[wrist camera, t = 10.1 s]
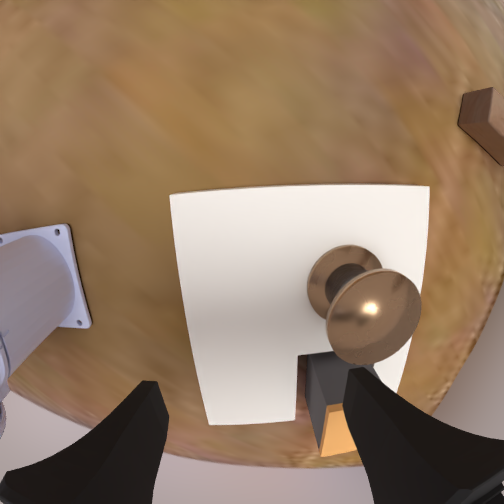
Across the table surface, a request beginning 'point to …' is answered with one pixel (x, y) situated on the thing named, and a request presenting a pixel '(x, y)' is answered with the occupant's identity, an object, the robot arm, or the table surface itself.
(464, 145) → the table surface
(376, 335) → the bronze knob
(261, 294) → the notched board
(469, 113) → the wooden block
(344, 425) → the grey and orange block
